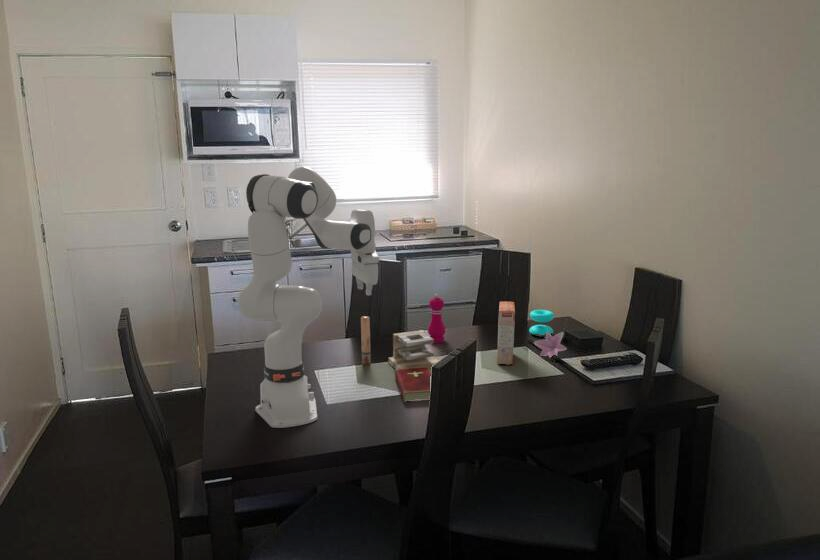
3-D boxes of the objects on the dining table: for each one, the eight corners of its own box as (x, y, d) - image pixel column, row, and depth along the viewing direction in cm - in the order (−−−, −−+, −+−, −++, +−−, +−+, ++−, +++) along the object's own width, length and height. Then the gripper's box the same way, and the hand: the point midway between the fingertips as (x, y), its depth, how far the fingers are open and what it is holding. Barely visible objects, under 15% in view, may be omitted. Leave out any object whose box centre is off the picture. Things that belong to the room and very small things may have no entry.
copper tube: (372, 364, 233) (370, 318, 229) (363, 365, 232) (362, 319, 228) (369, 361, 236) (368, 315, 232) (360, 363, 235) (359, 316, 231)
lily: (531, 355, 245) (528, 338, 239) (555, 340, 247) (553, 323, 241) (550, 373, 236) (548, 356, 230) (575, 358, 238) (573, 340, 232)
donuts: (544, 316, 257) (524, 311, 264) (543, 340, 259) (524, 334, 267) (559, 312, 263) (539, 307, 271) (558, 335, 265) (539, 329, 273)
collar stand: (443, 368, 228) (443, 340, 226) (401, 375, 222) (401, 345, 220) (427, 356, 241) (427, 329, 238) (388, 362, 235) (387, 334, 232)
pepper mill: (426, 343, 257) (426, 295, 252) (429, 337, 263) (429, 291, 259) (443, 344, 255) (443, 296, 250) (446, 338, 262) (447, 292, 257)
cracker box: (513, 366, 230) (515, 311, 226) (497, 365, 231) (498, 310, 226) (513, 353, 244) (515, 301, 239) (497, 352, 245) (499, 300, 240)
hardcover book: (403, 404, 199) (403, 391, 199) (395, 379, 220) (394, 368, 219) (440, 401, 201) (440, 389, 200) (428, 377, 221) (428, 366, 220)
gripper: (346, 250, 233) (348, 286, 236) (363, 260, 214) (364, 299, 217) (362, 249, 235) (364, 284, 238) (381, 258, 217) (381, 297, 220)
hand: (364, 291), depth 228 cm, fingers open, 8 cm apart
